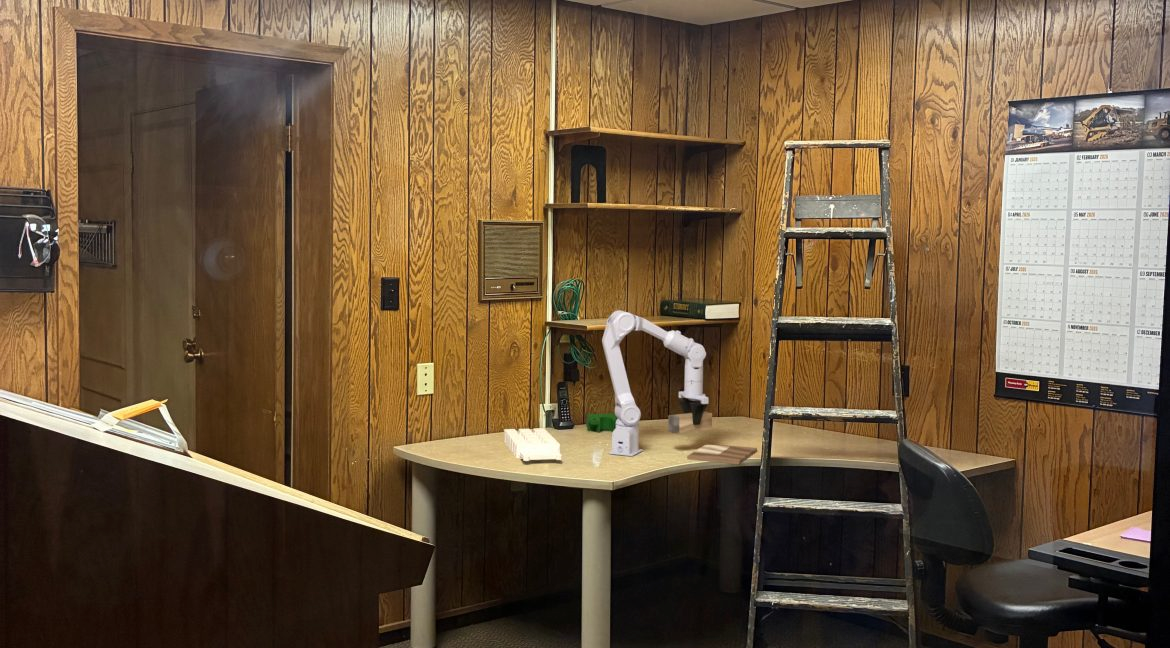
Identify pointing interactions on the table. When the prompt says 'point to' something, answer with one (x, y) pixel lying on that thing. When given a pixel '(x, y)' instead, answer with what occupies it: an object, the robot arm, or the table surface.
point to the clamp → (601, 422)
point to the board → (722, 453)
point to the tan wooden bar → (688, 423)
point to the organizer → (532, 444)
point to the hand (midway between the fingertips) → (692, 423)
